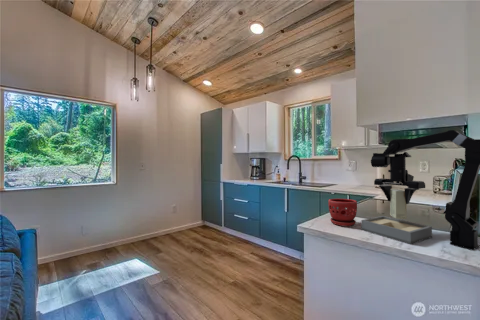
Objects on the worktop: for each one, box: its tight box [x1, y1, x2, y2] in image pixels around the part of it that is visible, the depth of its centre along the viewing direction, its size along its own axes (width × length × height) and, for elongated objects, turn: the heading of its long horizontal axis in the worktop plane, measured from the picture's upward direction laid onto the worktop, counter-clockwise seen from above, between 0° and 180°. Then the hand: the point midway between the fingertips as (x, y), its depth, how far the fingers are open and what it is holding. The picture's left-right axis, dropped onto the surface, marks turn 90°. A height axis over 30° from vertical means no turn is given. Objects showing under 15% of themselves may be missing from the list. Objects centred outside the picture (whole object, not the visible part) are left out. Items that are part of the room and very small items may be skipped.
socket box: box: [361, 215, 433, 245], centre depth 99 cm, size 20×16×4 cm
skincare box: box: [389, 188, 408, 220], centre depth 102 cm, size 6×4×12 cm
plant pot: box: [327, 198, 358, 227], centre depth 114 cm, size 13×13×12 cm
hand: (398, 202), depth 102 cm, fingers closed on skincare box, 7 cm apart
